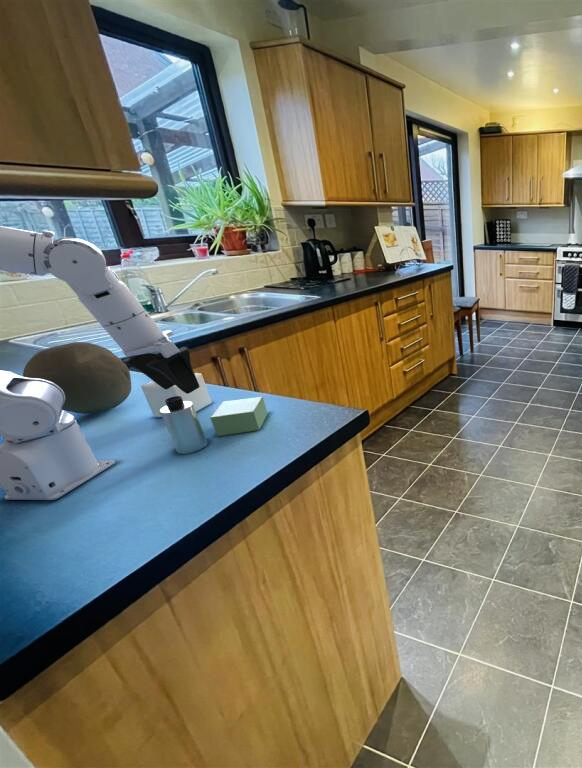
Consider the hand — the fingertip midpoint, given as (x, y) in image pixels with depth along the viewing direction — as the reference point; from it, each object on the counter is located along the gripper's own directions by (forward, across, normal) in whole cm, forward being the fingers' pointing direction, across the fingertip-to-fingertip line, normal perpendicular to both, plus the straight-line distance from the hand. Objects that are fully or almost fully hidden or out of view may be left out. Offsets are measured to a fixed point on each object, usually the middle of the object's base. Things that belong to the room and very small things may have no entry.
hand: (182, 388), depth 69 cm
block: (+12, -1, -4) cm, 12 cm away
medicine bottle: (+10, +17, -2) cm, 20 cm away
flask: (+9, -1, +5) cm, 11 cm away
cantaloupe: (+6, +33, +6) cm, 34 cm away
